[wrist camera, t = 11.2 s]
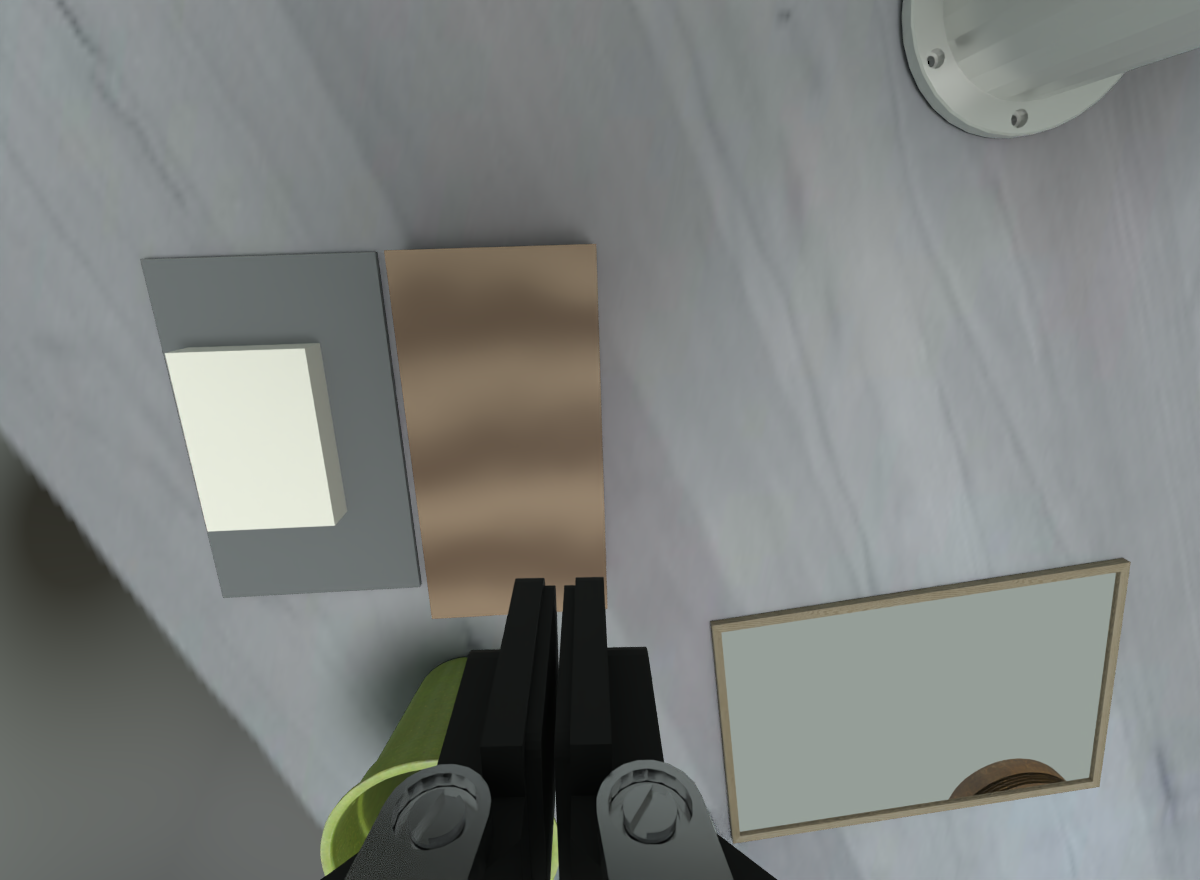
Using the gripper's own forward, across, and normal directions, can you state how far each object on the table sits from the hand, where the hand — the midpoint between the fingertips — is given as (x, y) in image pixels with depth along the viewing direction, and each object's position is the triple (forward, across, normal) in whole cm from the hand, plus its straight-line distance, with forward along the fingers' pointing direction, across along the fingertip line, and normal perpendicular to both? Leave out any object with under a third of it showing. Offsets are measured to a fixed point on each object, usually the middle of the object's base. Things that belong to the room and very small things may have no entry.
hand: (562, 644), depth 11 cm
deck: (+24, +4, +3) cm, 25 cm away
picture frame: (+25, -24, +25) cm, 42 cm away
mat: (+24, +16, +4) cm, 29 cm away
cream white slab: (+21, +18, +3) cm, 28 cm away
